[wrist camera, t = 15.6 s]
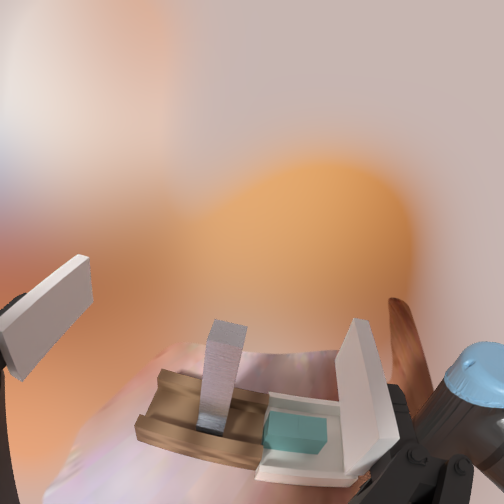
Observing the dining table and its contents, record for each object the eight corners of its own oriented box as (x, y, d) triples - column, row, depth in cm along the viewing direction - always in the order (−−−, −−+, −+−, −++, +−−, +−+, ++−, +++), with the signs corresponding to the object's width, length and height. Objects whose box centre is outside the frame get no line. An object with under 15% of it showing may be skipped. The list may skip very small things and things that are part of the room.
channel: (263, 410, 43) (269, 394, 41) (255, 470, 33) (261, 458, 31) (162, 385, 43) (161, 368, 42) (137, 440, 33) (134, 425, 32)
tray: (343, 413, 44) (350, 402, 42) (348, 487, 31) (358, 478, 30) (264, 402, 44) (269, 391, 43) (254, 479, 31) (258, 471, 30)
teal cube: (317, 432, 39) (326, 418, 38) (317, 454, 36) (327, 441, 34) (291, 429, 39) (298, 414, 38) (289, 451, 36) (298, 438, 34)
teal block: (291, 429, 39) (298, 414, 38) (289, 451, 36) (298, 438, 34) (264, 425, 40) (270, 410, 38) (261, 447, 36) (267, 433, 34)
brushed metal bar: (228, 410, 40) (249, 320, 33) (220, 442, 35) (240, 355, 28) (204, 405, 40) (217, 313, 33) (194, 436, 35) (204, 347, 28)
